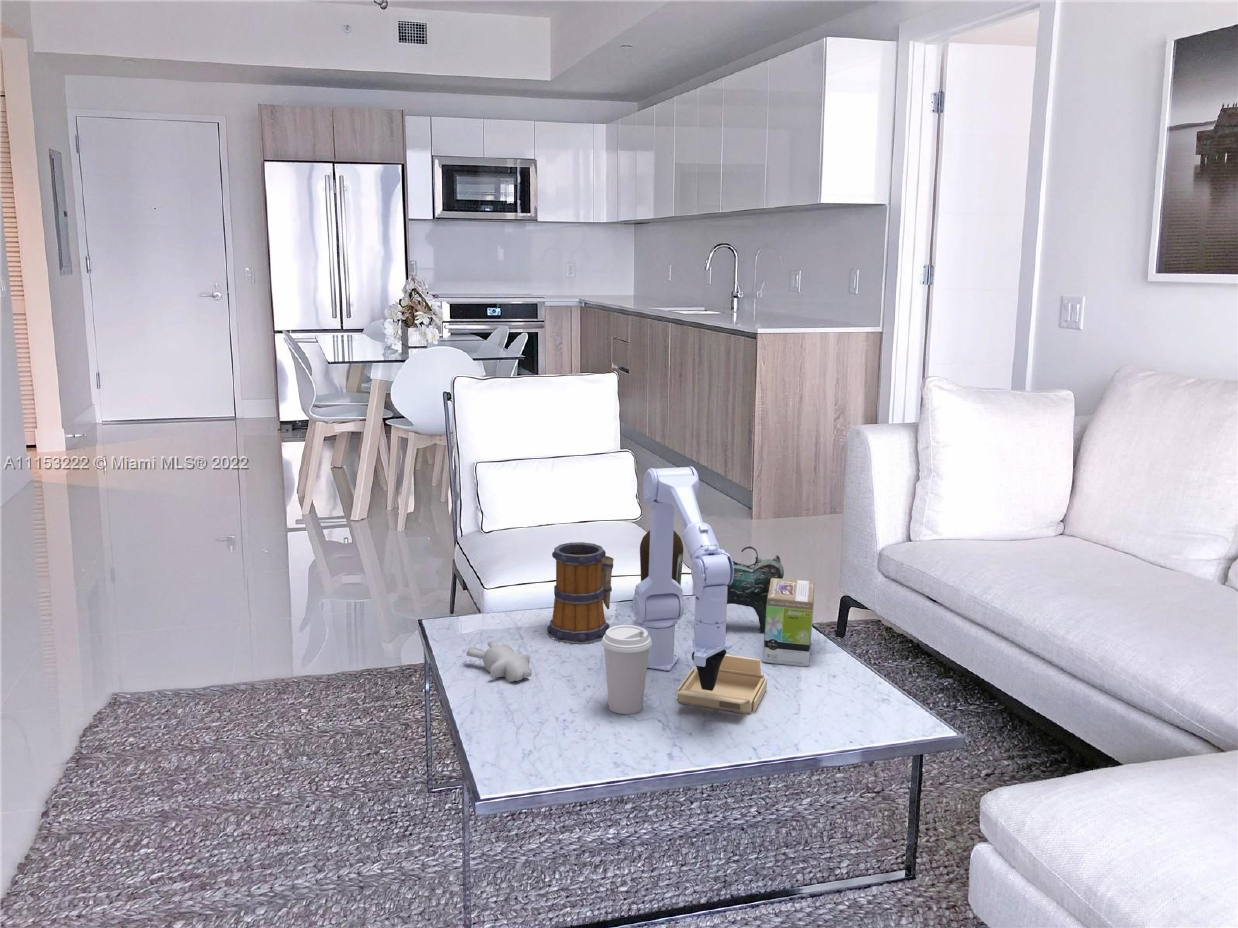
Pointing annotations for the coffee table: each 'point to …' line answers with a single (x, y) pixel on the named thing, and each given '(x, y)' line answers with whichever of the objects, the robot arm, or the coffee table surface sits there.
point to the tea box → (788, 622)
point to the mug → (580, 593)
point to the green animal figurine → (754, 584)
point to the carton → (726, 690)
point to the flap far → (741, 664)
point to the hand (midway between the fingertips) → (707, 688)
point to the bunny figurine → (503, 661)
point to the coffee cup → (626, 667)
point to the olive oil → (676, 559)
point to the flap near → (711, 697)
